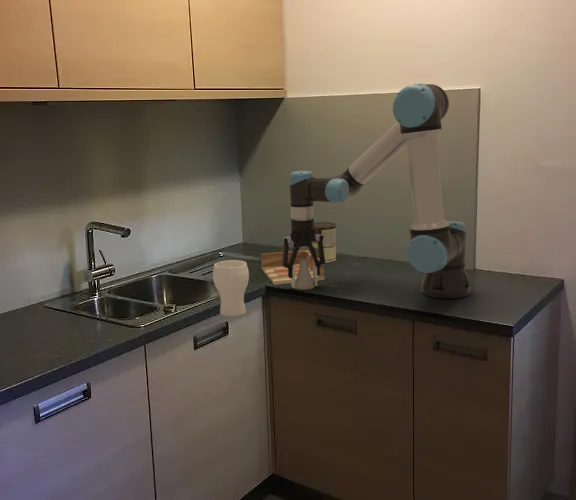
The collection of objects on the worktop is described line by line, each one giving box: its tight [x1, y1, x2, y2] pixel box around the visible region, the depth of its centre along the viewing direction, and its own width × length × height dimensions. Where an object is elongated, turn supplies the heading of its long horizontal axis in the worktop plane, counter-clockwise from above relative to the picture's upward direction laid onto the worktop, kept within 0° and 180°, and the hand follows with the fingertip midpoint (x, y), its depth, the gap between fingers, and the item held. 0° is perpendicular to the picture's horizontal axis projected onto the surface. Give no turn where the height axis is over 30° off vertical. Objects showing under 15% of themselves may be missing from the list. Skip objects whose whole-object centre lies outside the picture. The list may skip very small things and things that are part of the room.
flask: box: [294, 258, 316, 291], centre depth 221 cm, size 7×7×10 cm
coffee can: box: [312, 221, 337, 264], centre depth 258 cm, size 10×10×14 cm
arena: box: [260, 249, 325, 286], centre depth 239 cm, size 22×18×6 cm
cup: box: [212, 259, 250, 317], centre depth 197 cm, size 11×11×15 cm
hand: (304, 285), depth 222 cm, fingers closed on flask, 7 cm apart
